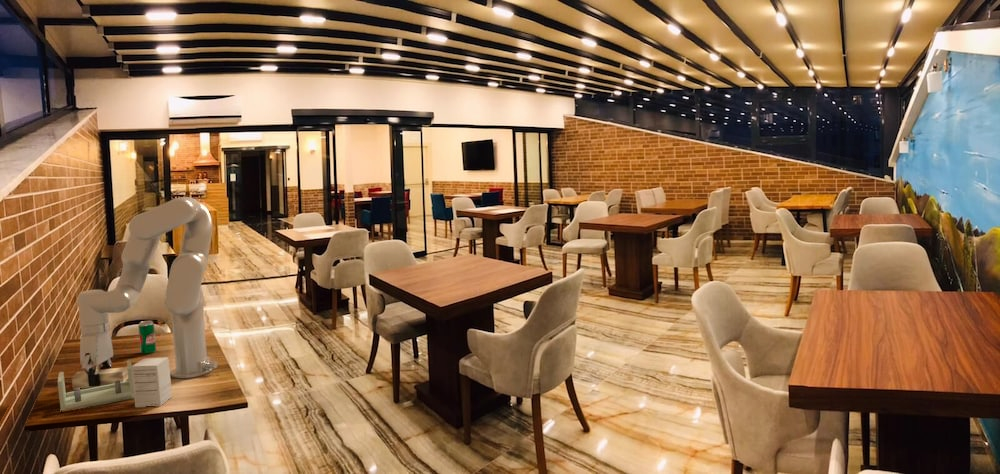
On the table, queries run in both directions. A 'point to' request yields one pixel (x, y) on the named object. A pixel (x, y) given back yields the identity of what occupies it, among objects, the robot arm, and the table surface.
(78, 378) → the shelf board
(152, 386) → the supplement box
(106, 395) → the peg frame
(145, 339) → the soda can
